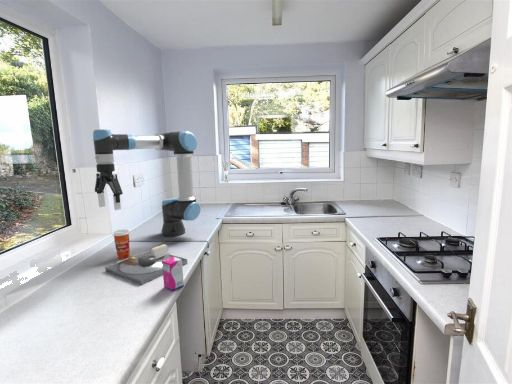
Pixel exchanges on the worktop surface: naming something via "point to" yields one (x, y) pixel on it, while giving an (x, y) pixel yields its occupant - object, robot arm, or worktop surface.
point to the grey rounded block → (153, 255)
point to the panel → (139, 268)
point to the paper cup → (122, 243)
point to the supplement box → (172, 273)
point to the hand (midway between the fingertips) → (109, 208)
